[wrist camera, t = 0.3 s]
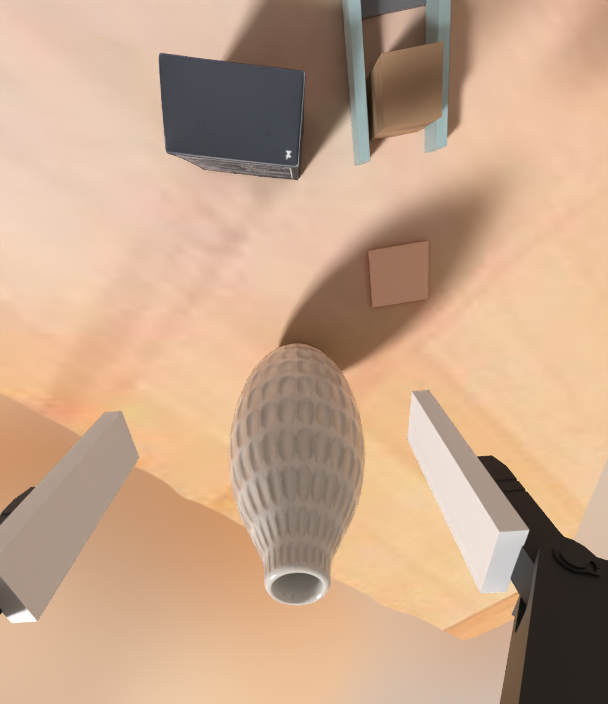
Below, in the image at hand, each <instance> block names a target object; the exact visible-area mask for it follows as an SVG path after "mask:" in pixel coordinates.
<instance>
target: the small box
mask: <svg viewBox="0 0 608 704" xmlns="http://www.w3.org/2000/svg"><path fill="white" fill-rule="evenodd" d="M159 73H160V85H161V101H162V112H163V125H164V136H165V148H166V152H167V153H168V154H171V155H174V156H178V157H180V158H182V159H184V160H187V161H188V162H191V163H193V164H195V165H197V166H199V167H200V168H202V169H204V170H211V171H219V172H229V173H234V174H246V175H255V176H260V177H272V178H283V179H294V180H298V179H299V178H300V164H301V150H302V135H303V119H304V92H305V77H306V75H305V72H304V71H302V70H292V69H284V68H275V67H267V66H259V65H250V64H242V63H234V62H226V61H218V60H210V59H202V58H195V57H187V56H180V55H173V54H165V53H160V54H159Z"/></svg>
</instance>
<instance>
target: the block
mask: <svg viewBox="0 0 608 704" xmlns="http://www.w3.org/2000/svg"><path fill="white" fill-rule="evenodd" d="M443 42H444V41H441V42H436V43H431V44H426V45H421V46H416V47H411V48H406V49H401V50H396V51H391V52H386V53H381V54H380V56H379V58H378V60H377V62H376V64H375V65H374V67H373V69H372V71H371V73H370V74H369V76H368V78H367V80H366V87H367V104H368V120H369V137H370V141H371V140H377V139H382V138H387V137H393V136H398V135H403V134H409V133H414V132H418V131H420V130H421V129H423V128H425V127H426V126H428V125H429V124H431V123H433V122H434V121H436V120H438V119H439V118H441V117H442V87H443Z"/></svg>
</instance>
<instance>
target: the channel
mask: <svg viewBox="0 0 608 704" xmlns="http://www.w3.org/2000/svg"><path fill="white" fill-rule="evenodd" d="M421 6H426V21H425V45H426V44H431V43H436V42H441V41H444V42H443V87H442V117H441V118H439V119H438V120H436V121H434V122H433V123H431V124H429V125H428V126H426V127H425V153H426V152H432V151H436V150H438V149H441V148H443V147H446V146H447V122H448V88H449V53H450V19H451V0H342V9H343V22H344V34H345V47H346V59H347V72H348V85H349V97H350V110H351V122H352V135H353V148H354V160H355V166H356V165H361V164H365V163H366V162H368V161H370V149H369V133H368V117H367V100H366V84H365V67H364V51H363V34H362V19H363V18H368V17H373V16H378V15H382V14H387V13H392V12H397V11H402V10H407V9H411V8H416V7H421Z"/></svg>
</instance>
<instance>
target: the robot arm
mask: <svg viewBox="0 0 608 704" xmlns="http://www.w3.org/2000/svg"><path fill="white" fill-rule="evenodd" d="M407 440H408V442H409V444H410V446H411V448H412V450H413V452H414V454H415V456H416V459H417V461H418V463H419V465H420V467H421V469H422V471H423V473H424V475H425V478H426V480H427V482H428V484H429V486H430V488H431V490H432V492H433V494H434V497H435V499H436V501H437V503H438V505H439V507H440V509H441V511H442V513H443V516H444V518H445V520H446V522H447V524H448V526H449V528H450V530H451V532H452V535H453V537H454V539H455V541H456V543H457V545H458V547H459V549H460V551H461V554H462V556H463V558H464V560H465V562H466V564H467V566H468V568H469V570H470V573H471V575H472V577H473V579H474V581H475V583H476V585H477V587H478V589H479V592H480V593H496V592H507V589H508V587H509V584H510V581H511V580H512V582H513V584H514V586H515V587H516V589H517V591H518V593H519V594H520V596H519V598H518V601H517V603H516V605H515V608H514V610H513V613H512V615H513V616H515V619H514V625H513V630H512V637H511V642H510V648H509V654H508V659H507V665H506V671H505V677H504V683H503V689H502V695H501V700H500V704H608V560H604V559H601V558H598V557H596V556H595V555H594V554H593V553H592V552H590V551H589V550H588V549H587V548H586V547H584V546H583V545H581V544H579V543H577V542H576V541H574V540H572V539H569V538H566V537H564V536H563V535H562V534H561V533H560V532H559V531H558V529H557V528H556V527H555V526H554V524H553V523H552V522H551V521H550V519H549V518H548V517H547V516H546V515H545V513H544V512H543V511H542V510H541V508H540V507H539V506H538V505H537V503H536V502H535V501H534V500H533V498H532V497H531V496H530V495H529V493H528V492H526V491H525V488H524V487H523V486H522V485H521V483H520V482H519V481H517V478H516V477H515V476H514V475H513V474H512V472H511V471H510V470H509V469H508V467H507V466H506V465H504V464H503V463H502V462H500V461H499V460H497V459H496V458H495V457H493V456H478V457H477V456H476V455H475V453H474V452H473V451H472V449H471V448H470V446H469V445H468V444H467V442H466V441H465V439H464V438H463V437H462V435H461V434H460V432H459V431H458V430H457V428H456V427H455V425H454V424H453V423H452V421H451V420H450V418H449V417H448V416H447V414H446V413H445V411H444V410H443V409H442V407H441V406H440V405H439V403H438V402H437V400H436V399H435V398H434V396H433V395H432V393H431V392H430V391H429V390H423V391H412V397H411V407H410V418H409V428H408V438H407ZM138 459H139V455H138V453H137V450H136V447H135V445H134V442H133V440H132V437H131V434H130V432H129V429H128V427H127V424H126V422H125V419H124V416H123V414H122V411H117V412H104V414H103V415H102V416H101V417H100V418H99V419H98V420H97V421H96V422H95V423H94V424H93V425H92V427H91V428H90V429H89V430H88V431H87V432H86V433H85V434H84V435H83V436H82V437H81V438H80V440H79V441H78V442H77V443H76V444H75V445H74V446H73V447H72V448H71V449H70V450H69V451H68V453H67V454H66V455H65V456H64V457H63V458H62V459H61V460H60V461H59V462H58V463H57V465H55V467H54V468H53V469H52V470H51V471H50V472H49V473H48V474H47V475H46V476H45V478H43V480H42V481H41V482H40V483H39V484H38V485H37V486H36V487H31V488H30V489H28V490H27V491H25V492H24V493H22V494H21V495H20V496H18V497H17V498H15V499H14V500H13V501H12V502H11V503H10V504H9V505H8V506H7V507H6V508H5V510H3V512H2V513H1V515H0V614H1V613H2V612H3V614H4V615H5V616H6V617H7V618H8V619H9V620H10V621H11V623H18V622H34V621H38V619H39V618H40V616H41V615H42V613H43V611H44V610H45V608H46V607H47V605H48V603H49V602H50V600H51V598H52V597H53V595H54V594H55V592H56V590H57V589H58V587H59V585H60V584H61V582H62V581H63V579H64V578H65V576H66V574H67V573H68V571H69V570H70V568H71V566H72V565H73V563H74V562H75V560H76V558H77V557H78V555H79V554H80V552H81V550H82V549H83V547H84V545H85V544H86V542H87V541H88V539H89V537H90V536H91V534H92V533H93V531H94V529H95V528H96V526H97V525H98V523H99V521H100V520H101V518H102V517H103V515H104V513H105V512H106V510H107V509H108V507H109V505H110V504H111V502H112V500H113V499H114V497H115V496H116V494H117V492H118V491H119V489H120V488H121V486H122V484H123V483H124V481H125V480H126V478H127V476H128V475H129V473H130V472H131V470H132V468H133V467H134V465H135V464H136V462H137V460H138Z"/></svg>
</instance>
